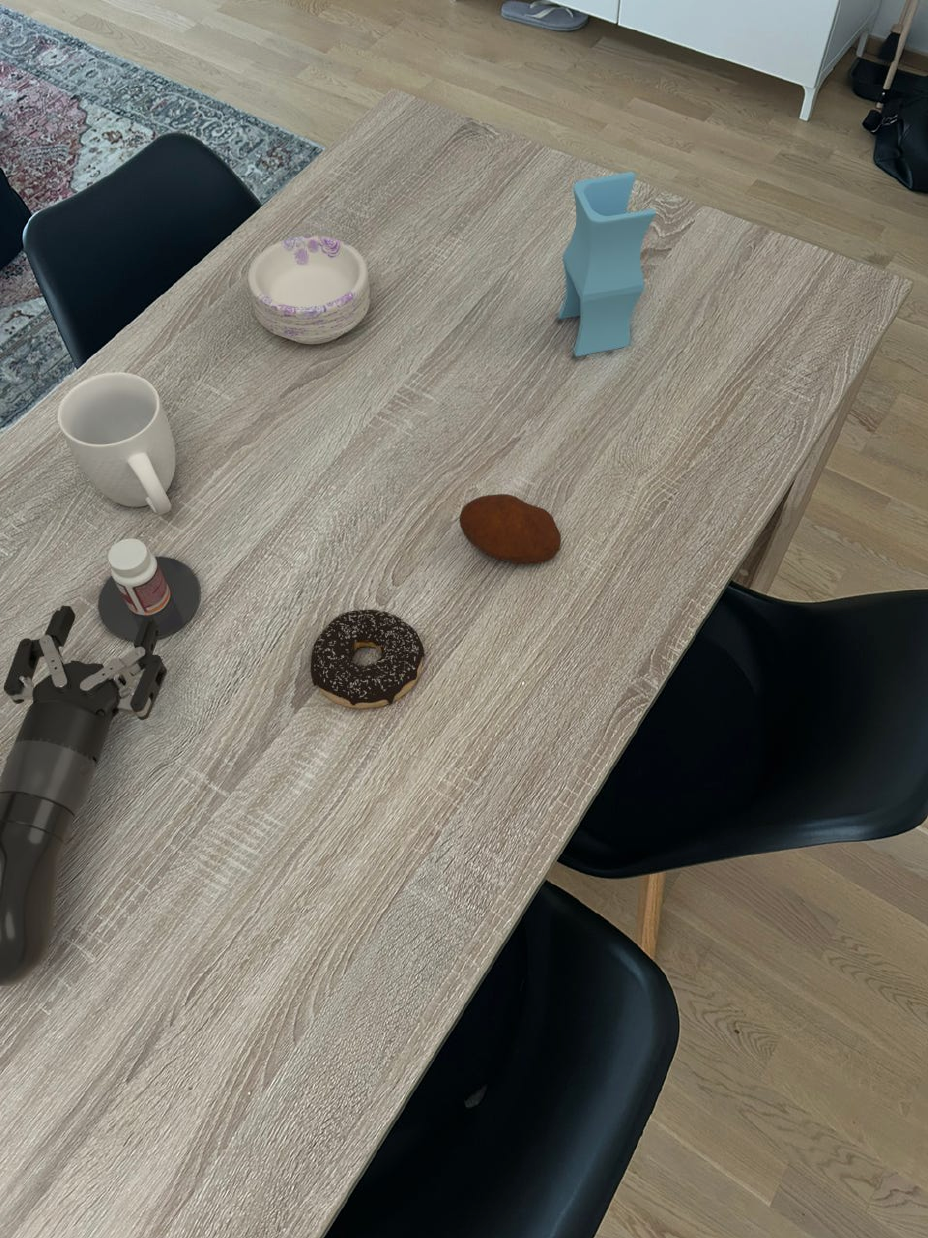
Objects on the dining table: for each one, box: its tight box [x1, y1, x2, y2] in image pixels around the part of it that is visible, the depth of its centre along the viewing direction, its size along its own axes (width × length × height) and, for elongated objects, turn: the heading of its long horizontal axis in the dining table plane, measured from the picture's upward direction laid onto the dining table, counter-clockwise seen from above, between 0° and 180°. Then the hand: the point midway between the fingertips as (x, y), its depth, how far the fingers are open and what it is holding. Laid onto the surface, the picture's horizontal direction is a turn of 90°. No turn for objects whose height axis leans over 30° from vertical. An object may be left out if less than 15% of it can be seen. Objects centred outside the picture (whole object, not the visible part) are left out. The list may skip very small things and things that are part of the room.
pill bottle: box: [107, 537, 170, 615], centre depth 110 cm, size 5×5×8 cm
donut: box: [310, 609, 426, 710], centre depth 108 cm, size 11×12×4 cm
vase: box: [557, 171, 657, 357], centre depth 128 cm, size 8×8×20 cm
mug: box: [56, 371, 177, 516], centre depth 116 cm, size 15×11×13 cm
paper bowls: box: [247, 235, 371, 345], centre depth 134 cm, size 15×15×8 cm
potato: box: [458, 493, 562, 565], centre depth 114 cm, size 8×12×8 cm, turn 78°
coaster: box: [97, 556, 201, 643], centre depth 114 cm, size 11×11×1 cm
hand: (110, 614), depth 104 cm, fingers open, 8 cm apart
